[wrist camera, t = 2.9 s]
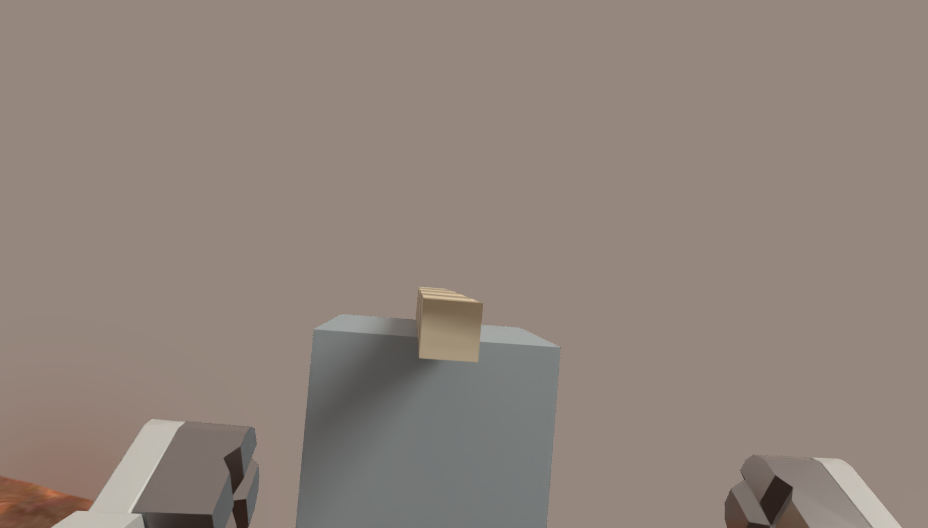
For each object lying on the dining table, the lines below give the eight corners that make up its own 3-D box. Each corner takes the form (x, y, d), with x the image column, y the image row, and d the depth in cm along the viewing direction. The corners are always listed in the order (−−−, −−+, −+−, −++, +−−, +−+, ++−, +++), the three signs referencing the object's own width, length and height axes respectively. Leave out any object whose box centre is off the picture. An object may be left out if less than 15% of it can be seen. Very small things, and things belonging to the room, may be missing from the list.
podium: (524, 809, 31) (560, 347, 32) (270, 810, 30) (313, 329, 31) (493, 661, 43) (520, 327, 44) (310, 657, 42) (341, 314, 43)
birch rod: (478, 362, 23) (483, 303, 23) (418, 358, 23) (424, 298, 23) (445, 318, 47) (447, 289, 47) (415, 316, 47) (418, 286, 47)
